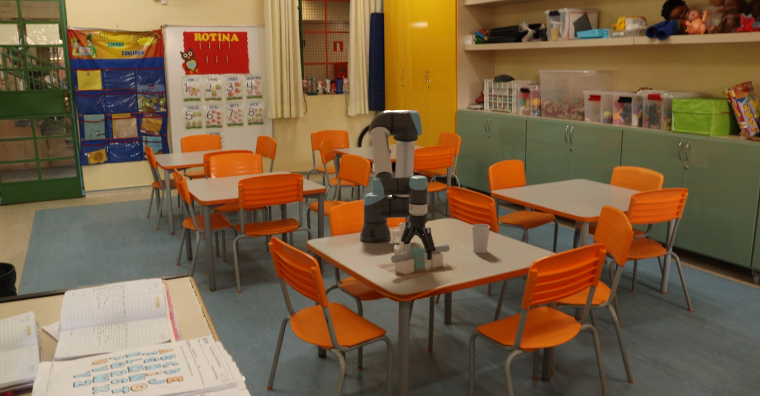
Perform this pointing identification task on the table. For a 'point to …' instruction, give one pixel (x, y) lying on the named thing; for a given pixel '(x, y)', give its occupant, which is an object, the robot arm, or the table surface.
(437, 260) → the shaft
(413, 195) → the robot arm
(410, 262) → the shaft
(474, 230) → the cup
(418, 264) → the block
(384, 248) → the table surface
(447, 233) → the table surface
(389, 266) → the brown flat board
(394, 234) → the figurine
